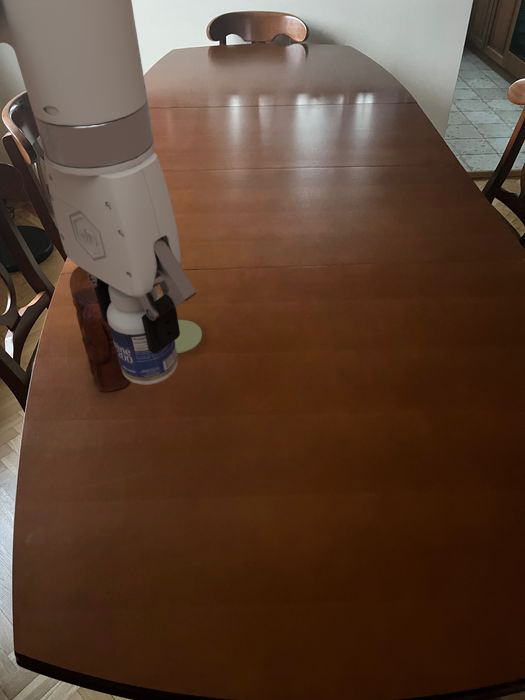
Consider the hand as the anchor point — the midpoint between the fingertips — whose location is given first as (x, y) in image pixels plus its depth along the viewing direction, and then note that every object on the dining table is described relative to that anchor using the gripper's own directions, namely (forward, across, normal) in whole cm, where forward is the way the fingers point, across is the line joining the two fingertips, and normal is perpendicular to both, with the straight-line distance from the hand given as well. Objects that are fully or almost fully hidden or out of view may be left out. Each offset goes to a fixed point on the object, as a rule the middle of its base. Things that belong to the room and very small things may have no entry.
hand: (141, 327), depth 53 cm
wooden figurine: (+30, -26, +10) cm, 41 cm away
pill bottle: (+5, 0, 0) cm, 5 cm away
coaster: (+29, -24, +21) cm, 43 cm away
